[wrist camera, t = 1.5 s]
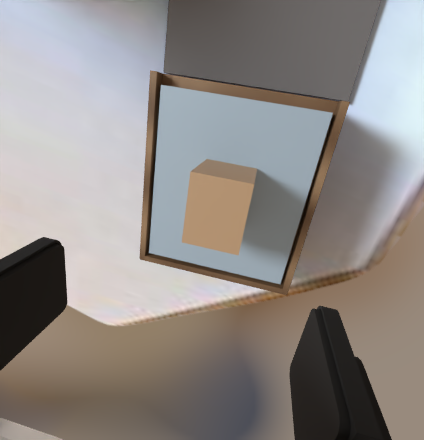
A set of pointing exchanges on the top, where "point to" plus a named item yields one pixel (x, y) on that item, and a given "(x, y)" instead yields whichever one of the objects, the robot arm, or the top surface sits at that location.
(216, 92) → the walnut box
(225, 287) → the top surface
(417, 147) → the top surface
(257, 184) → the lid
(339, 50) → the mat
